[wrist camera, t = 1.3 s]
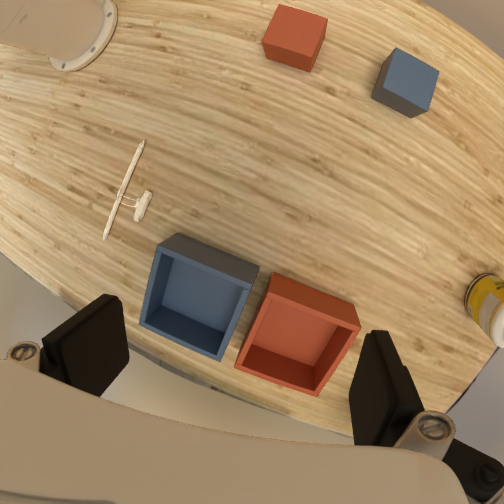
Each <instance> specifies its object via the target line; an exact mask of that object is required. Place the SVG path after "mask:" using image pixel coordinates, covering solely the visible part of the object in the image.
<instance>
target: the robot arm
mask: <svg viewBox="0 0 504 504" xmlns="http://www.w3.org/2000/svg"><path fill="white" fill-rule="evenodd" d="M116 23H117V8H116V6H115V4H114V3H113V2H112V1H111V0H0V44H4V45H8V46H12V47H16V48H20V49H24V50H28V51H32V52H36V53H39V54H43V55H46V56H48V58H49V61H50V63H51V65H52V66H53V67H54V68H55V69H56V70H59V71H63V72H73V71H76V70H79V69H81V68H83V67H85V66H86V65H88V64H89V63H90V62H92V61H93V60H94V59H95V58H96V57H97V56H98V55H99V54H100V53H101V51H102V50H103V49H104V48H105V46H106V45H107V43H108V42H109V40H110V38H111V36H112V35H113V32H114V30H115V27H116ZM42 343H43V346H44V347H43V348H41V349H40V346H39V345H38V344H37V343H34V342H31V341H25V342H20V343H17V344H15V345H13V346H12V347H11V348H10V349H9V350H8V352H7V355H6V359H4V360H1V359H0V504H504V466H503V465H502V464H501V463H500V462H499V461H497V460H496V459H494V458H492V457H490V456H488V455H486V454H483V453H481V452H480V451H478V450H476V449H474V448H472V447H470V446H468V445H466V444H464V443H462V442H460V441H458V440H456V439H455V438H454V436H455V432H456V428H455V424H454V422H453V421H452V420H451V419H450V418H449V417H448V416H447V415H445V414H443V413H441V412H438V411H432V410H429V411H425V409H424V407H423V404H422V402H421V399H420V397H419V394H418V392H417V390H416V387H415V385H414V382H413V380H412V378H411V375H410V373H409V371H408V369H407V367H406V366H403V364H402V362H401V359H400V357H399V355H398V353H397V350H396V348H395V346H394V343H393V341H392V339H391V337H390V335H389V332H388V331H384V330H372V331H371V333H370V334H369V333H367V334H366V336H365V339H364V343H363V346H362V350H361V354H360V357H359V361H358V364H357V368H356V371H355V374H354V378H353V381H352V384H351V387H350V391H349V404H350V412H351V419H352V427H353V436H354V444H355V445H338V444H319V443H305V442H294V441H283V440H275V439H267V438H260V437H253V436H246V435H240V434H234V433H229V432H223V431H218V430H213V429H208V428H204V427H199V426H194V425H190V424H186V423H182V422H178V421H174V420H170V419H166V418H163V417H159V416H155V415H152V414H149V413H145V412H141V411H138V410H135V409H132V408H129V407H126V406H123V405H120V404H117V403H114V402H111V401H108V400H105V399H103V398H100V396H101V395H102V394H103V393H104V391H105V390H106V389H107V388H108V387H109V385H110V384H111V383H112V382H113V381H114V379H115V378H116V377H117V376H118V375H119V373H120V372H121V371H122V370H123V369H124V368H125V366H126V365H127V364H128V362H129V350H128V343H127V337H126V330H125V323H124V315H123V307H122V302H121V301H120V300H119V298H118V297H117V296H114V295H109V294H103V295H101V296H100V297H98V298H97V299H96V300H94V301H93V302H91V303H90V304H89V305H87V306H86V307H84V308H83V309H82V310H80V311H79V312H77V313H76V314H75V315H73V316H72V317H71V318H69V319H68V320H66V321H65V322H64V323H63V324H61V325H60V326H58V327H57V328H56V329H54V330H53V331H52V332H50V333H49V334H48V335H46V336H45V337H44V338H42Z"/></svg>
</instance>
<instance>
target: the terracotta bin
mask: <svg viewBox="0 0 504 504" xmlns="http://www.w3.org/2000/svg"><path fill="white" fill-rule="evenodd" d="M360 330H361V325H360V322H359V319H358V316H357V313H356V310H355V307H354V305H353V304H351V303H348V302H346V301H343V300H341V299H338V298H336V297H333V296H331V295H328V294H326V293H323V292H321V291H318V290H316V289H313V288H311V287H308V286H306V285H303V284H301V283H299V282H296V281H294V280H291V279H289V278H286V277H284V276H281V275H279V274H276V273H274V272H273V274H272V276H271V278H270V281H269V283H268V285H267V287H266V290H265V292H264V294H263V297H262V299H261V301H260V303H259V306H258V308H257V310H256V312H255V315H254V317H253V319H252V321H251V324H250V326H249V328H248V330H247V333H246V335H245V337H244V339H243V342H242V344H241V347H240V350H239V353H238V356H237V359H236V362H235V365H234V368H236V369H238V370H241V371H244V372H246V373H249V374H251V375H254V376H257V377H259V378H262V379H265V380H268V381H270V382H273V383H276V384H279V385H282V386H285V387H288V388H291V389H293V390H297V391H300V392H303V393H306V394H309V395H312V396H315V397H317V396H318V394H319V393H320V392H321V390H322V389H323V387H324V386H325V384H326V383H327V381H328V380H329V378H330V377H331V376H332V374H333V373H334V371H335V370H336V368H337V367H338V365H339V363H340V362H341V360H342V359H343V357H344V356H345V354H346V353H347V351H348V349H349V348H350V346H351V345H352V343H353V341H354V340H355V338H356V336H357V335H358V333H359V331H360Z"/></svg>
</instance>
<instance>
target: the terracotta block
mask: <svg viewBox="0 0 504 504" xmlns="http://www.w3.org/2000/svg"><path fill="white" fill-rule="evenodd" d="M327 21H328V19H327V18H324V17H321V16H318V15H315V14H312V13H309V12H305V11H302V10H299V9H295V8H292V7H288V6H284V5H280V4H279V5H278V7H277V9H276V11H275V13H274V16H273V18H272V20H271V22H270V24H269V26H268V28H267V31H266V33H265V35H264V37H263V40H262V45H263V48H264V51H265V54H266V57H267V59H271V60H274V61H277V62H280V63H284V64H287V65H290V66H293V67H296V68H299V69H301V70H304V71H307V72H311V70H312V67H313V65H314V62H315V60H316V58H317V55H318V53H319V50H320V48H321V45H322V43H323V40H324V38H325V32H326V27H327Z"/></svg>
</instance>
